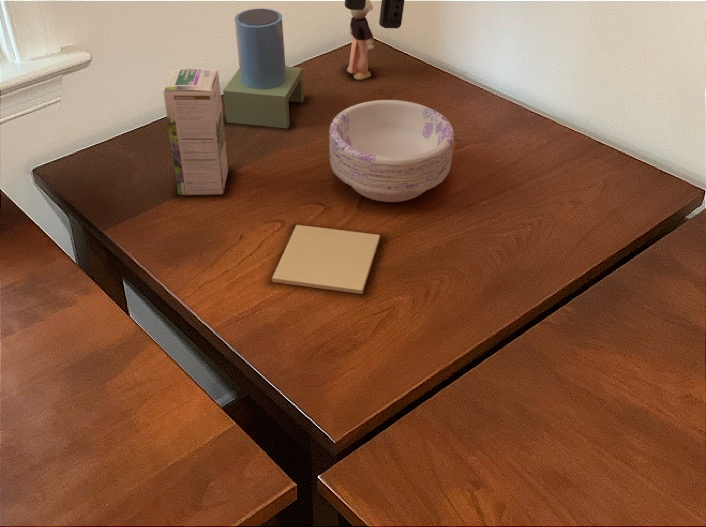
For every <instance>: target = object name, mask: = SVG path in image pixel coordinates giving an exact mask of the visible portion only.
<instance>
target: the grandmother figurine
mask: <svg viewBox="0 0 706 527" xmlns="http://www.w3.org/2000/svg"><path fill="white" fill-rule="evenodd" d="M373 9H374V5H373V3H372V2H371V0H366V4H365V8H364V9H363V10H350V14H351V16H352V17H351V18H350V23H349V34H350V35H351V36H352V40H351V48H350V55H349V63H348V64H349V65H348V66H347V68H346V71H347V73H349V74H353V78H354V79H355V80H358V81H361V80H362V81H363V80H365V79H368V78H371V76H372V74H371V72H370V70H369V62H368V53H369V52H372V51H374V50H375V46H374V35H373V33H372V30H371V28H370V26H369V21H368V19H367V15H368V13H369V12H371V11H373Z"/></svg>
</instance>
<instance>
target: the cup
mask: <svg viewBox="0 0 706 527" xmlns="http://www.w3.org/2000/svg"><path fill="white" fill-rule="evenodd" d="M234 27H235V28H234V29H235V38H236V46H237V56H238V67H239V68H240V77H241V82H242V84H243V85H245V86H247V87H249V88H253V89H269V88H274V87H277V86H279V85H281V84H283V83H284V82H285V80H286V67H287V66H286V54H285V41H284V40H285V39H284V24H283V15H282V13H281V12H279V11H277V10H275V9H271V8H251V9H246V10H243V11H241V12H239V13H237V14H236V15H235V16H234Z"/></svg>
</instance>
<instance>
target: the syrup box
mask: <svg viewBox="0 0 706 527" xmlns="http://www.w3.org/2000/svg"><path fill="white" fill-rule="evenodd" d="M163 99H164V105H165V114H166V120H167V127H168V134H169V141H170V147H171V153H172V161H173V168H174V173H175V174H174V175H175V180H176V187H177V194H178V195H179V196H206V195H207V196H208V195H211V196H212V195H224V193H225V190H226V189H225V188H226V183H227V180H228V179H227V178H228V174H229V161H228V152H227V150H228V149H227V143H226V142H227V140H226V132H225V121H224V112H223V103H222V94H221V85H220V76H219V70H217V69H207V68H195V67H194V68H190V67H189V68H176V69H171V72H170V74H169V77H168V80H167V82H166V85H165V87H164V91H163Z"/></svg>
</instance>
